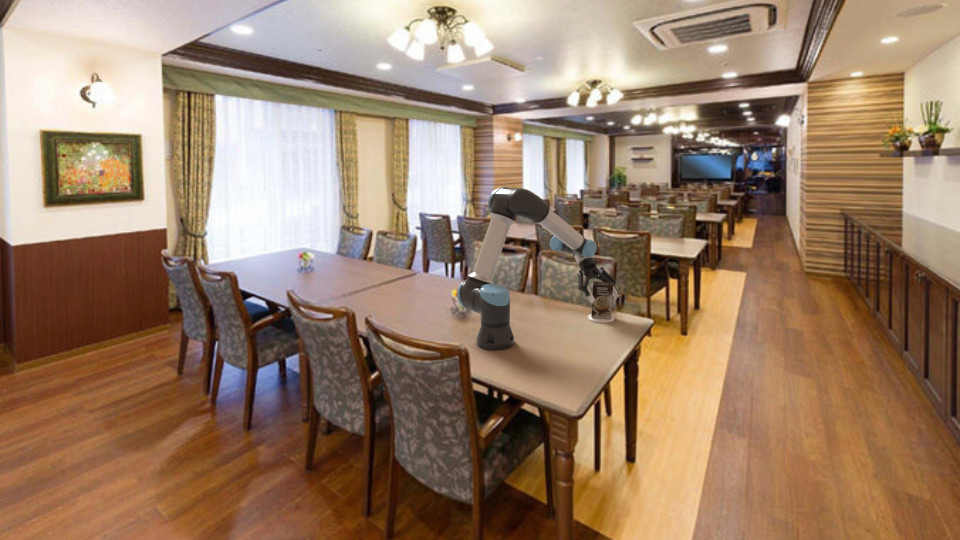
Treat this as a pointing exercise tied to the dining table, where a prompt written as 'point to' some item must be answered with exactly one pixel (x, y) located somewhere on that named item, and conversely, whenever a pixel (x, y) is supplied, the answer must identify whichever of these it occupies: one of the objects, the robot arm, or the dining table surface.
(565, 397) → the dining table surface
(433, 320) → the dining table surface
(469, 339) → the dining table surface
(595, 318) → the plate
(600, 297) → the coffee box
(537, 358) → the dining table surface
